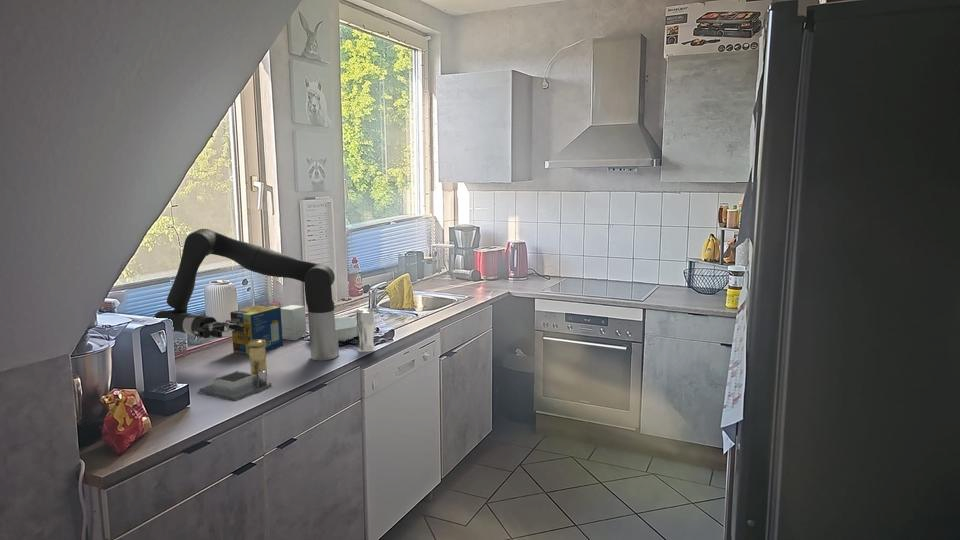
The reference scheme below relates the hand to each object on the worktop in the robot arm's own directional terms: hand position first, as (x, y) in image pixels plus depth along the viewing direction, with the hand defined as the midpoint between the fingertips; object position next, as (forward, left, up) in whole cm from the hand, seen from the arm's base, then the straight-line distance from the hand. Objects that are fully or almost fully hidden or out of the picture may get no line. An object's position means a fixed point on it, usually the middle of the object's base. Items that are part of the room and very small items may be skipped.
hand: (232, 331), depth 214 cm
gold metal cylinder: (0, +11, -14) cm, 18 cm away
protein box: (-23, -15, -14) cm, 31 cm away
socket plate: (+12, +14, -14) cm, 23 cm away
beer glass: (-40, +23, -14) cm, 49 cm away
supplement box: (-41, -15, -14) cm, 46 cm away
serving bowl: (-47, +3, -14) cm, 49 cm away
